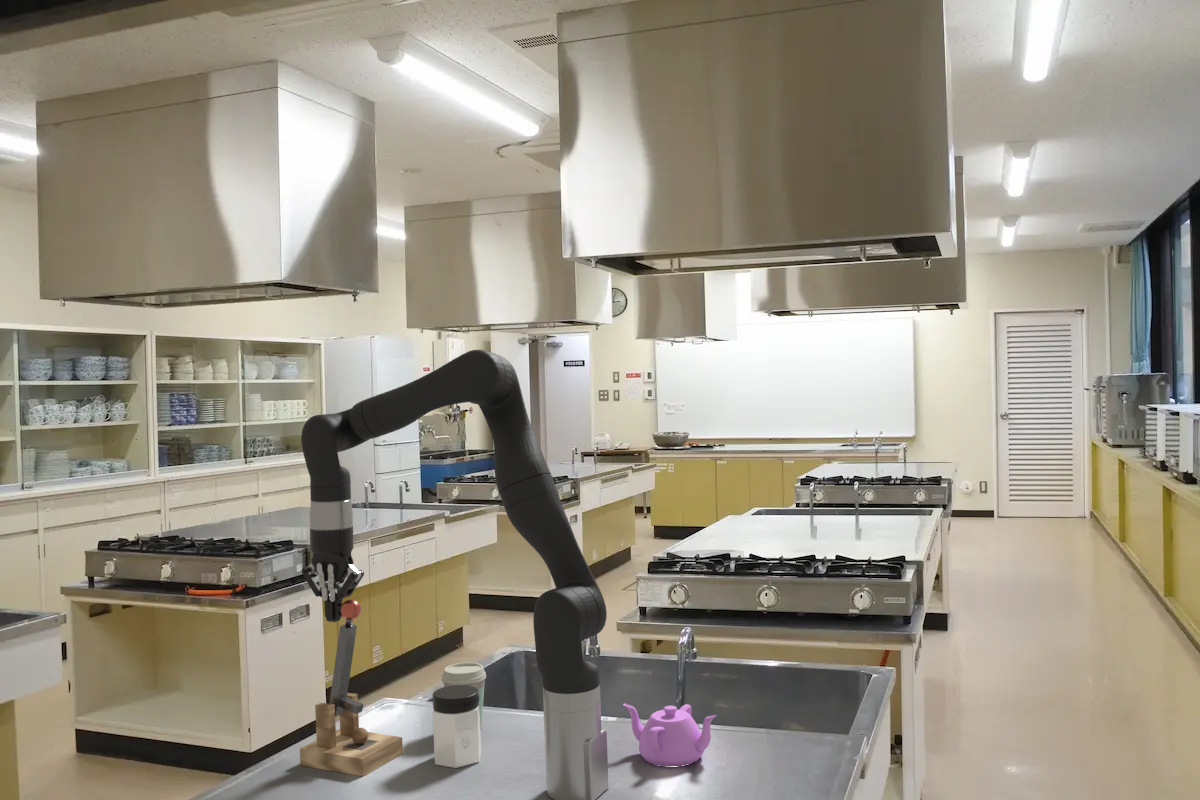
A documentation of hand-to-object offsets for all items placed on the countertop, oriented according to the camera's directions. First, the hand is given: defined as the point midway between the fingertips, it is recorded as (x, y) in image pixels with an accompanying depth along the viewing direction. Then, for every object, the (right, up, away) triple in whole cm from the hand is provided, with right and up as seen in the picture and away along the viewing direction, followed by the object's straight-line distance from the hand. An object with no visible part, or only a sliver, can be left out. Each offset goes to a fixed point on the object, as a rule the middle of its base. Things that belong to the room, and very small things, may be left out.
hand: (333, 620), depth 177 cm
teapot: (+60, -23, -5) cm, 65 cm away
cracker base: (+4, -25, -1) cm, 25 cm away
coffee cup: (+22, -24, +12) cm, 35 cm away
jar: (+23, -24, -2) cm, 33 cm away
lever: (+2, -17, 0) cm, 17 cm away
